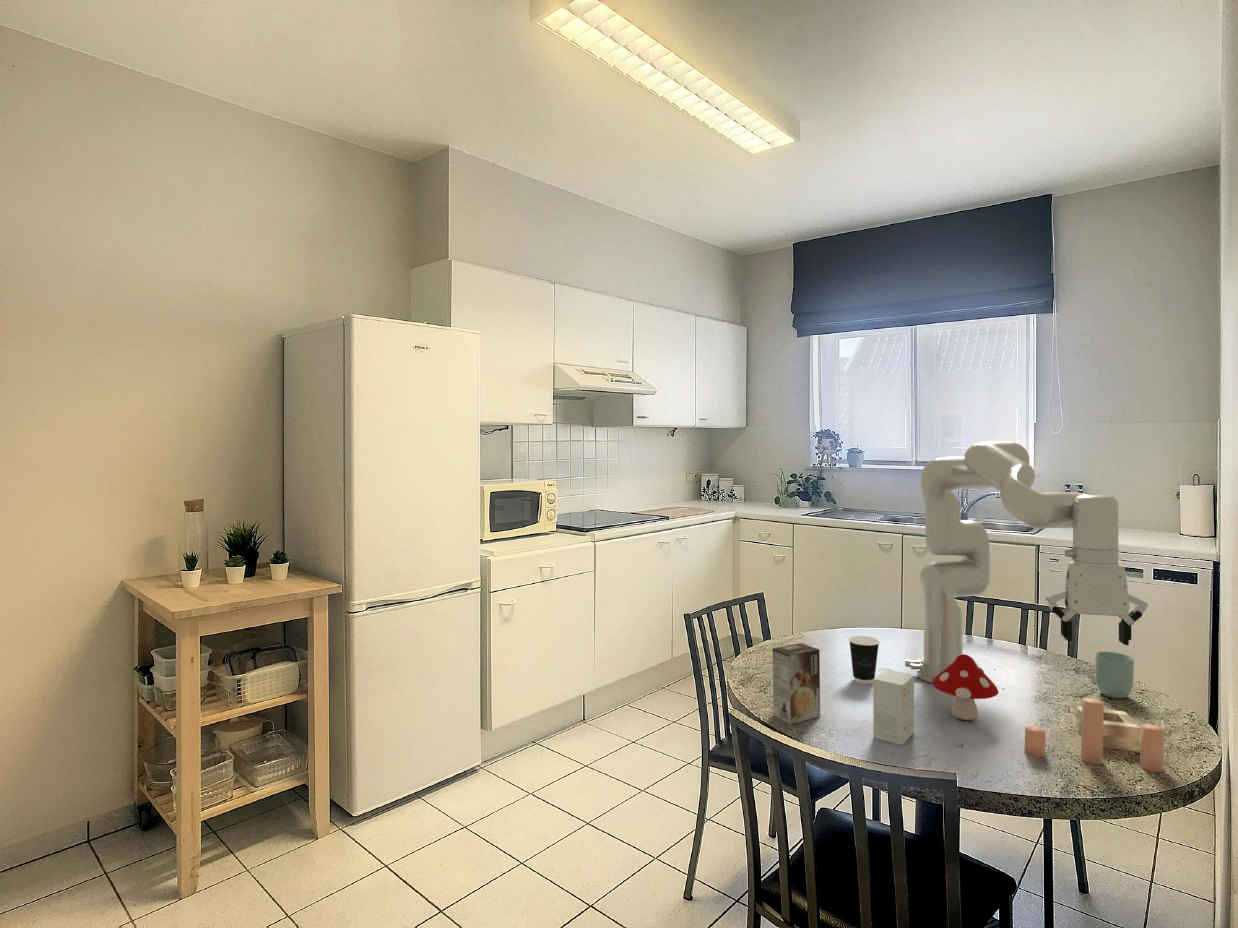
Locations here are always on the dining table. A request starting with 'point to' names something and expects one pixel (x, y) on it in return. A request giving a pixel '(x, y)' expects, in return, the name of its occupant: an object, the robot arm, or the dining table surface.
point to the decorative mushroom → (965, 686)
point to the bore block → (1116, 730)
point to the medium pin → (1152, 748)
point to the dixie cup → (864, 658)
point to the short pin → (1035, 741)
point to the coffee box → (796, 683)
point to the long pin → (1092, 731)
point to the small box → (893, 706)
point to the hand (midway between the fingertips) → (1095, 641)
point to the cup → (1114, 674)
